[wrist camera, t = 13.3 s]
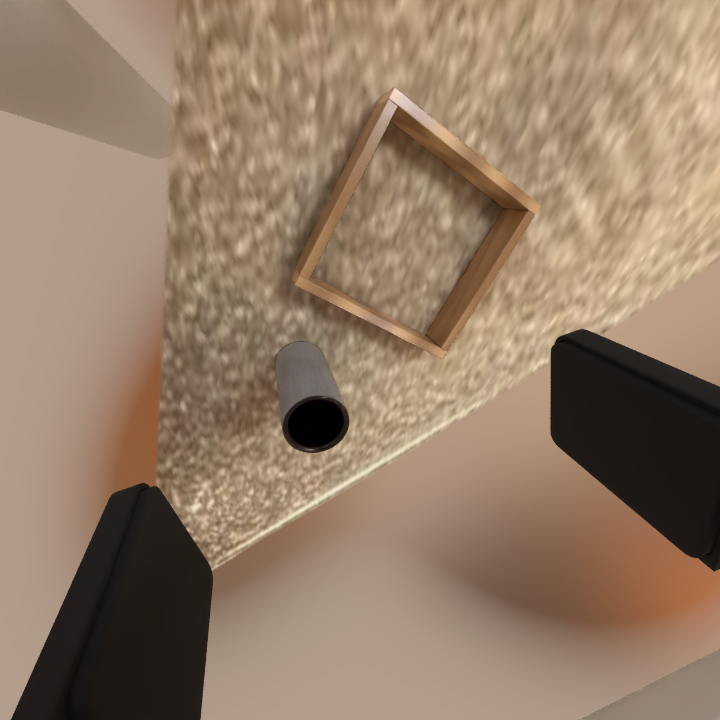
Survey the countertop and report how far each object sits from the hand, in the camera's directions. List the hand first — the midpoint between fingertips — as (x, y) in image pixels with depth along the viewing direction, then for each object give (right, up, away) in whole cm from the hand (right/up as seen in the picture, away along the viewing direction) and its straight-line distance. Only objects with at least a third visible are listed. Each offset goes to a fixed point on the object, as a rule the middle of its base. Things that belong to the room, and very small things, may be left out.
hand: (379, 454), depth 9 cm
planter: (-6, +2, +26) cm, 27 cm away
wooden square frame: (+4, +13, +24) cm, 27 cm away
